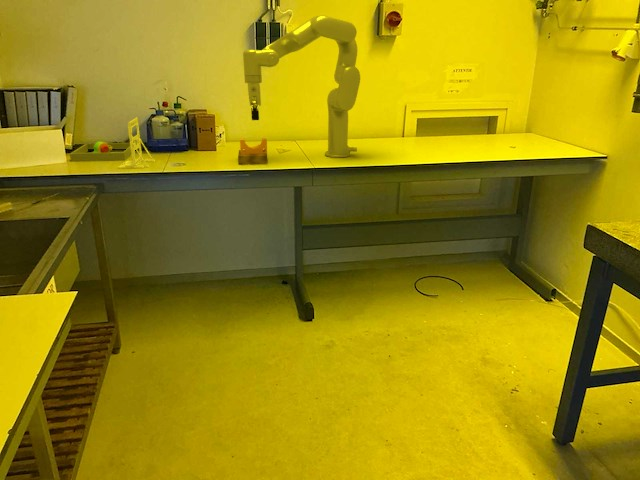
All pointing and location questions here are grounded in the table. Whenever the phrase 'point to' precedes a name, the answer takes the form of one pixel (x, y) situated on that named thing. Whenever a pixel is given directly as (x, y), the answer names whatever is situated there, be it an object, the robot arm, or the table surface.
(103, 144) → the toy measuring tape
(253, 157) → the walnut block
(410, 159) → the table surface
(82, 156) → the grey square tray
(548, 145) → the table surface
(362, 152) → the table surface
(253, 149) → the pipe clamp
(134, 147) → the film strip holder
